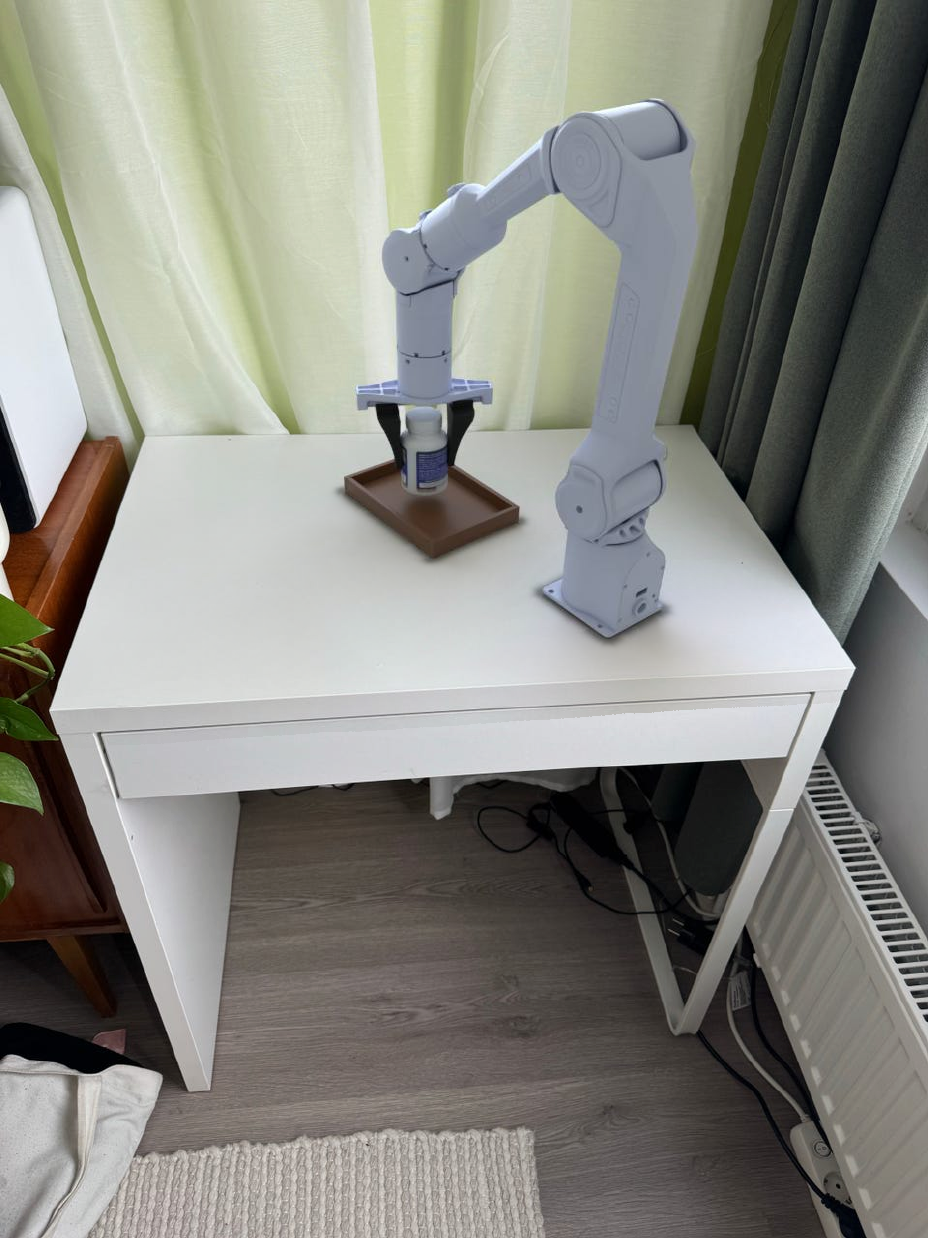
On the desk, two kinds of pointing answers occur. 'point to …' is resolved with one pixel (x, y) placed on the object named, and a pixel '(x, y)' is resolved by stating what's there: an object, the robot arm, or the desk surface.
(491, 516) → the tray
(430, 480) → the pill bottle
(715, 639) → the desk surface
